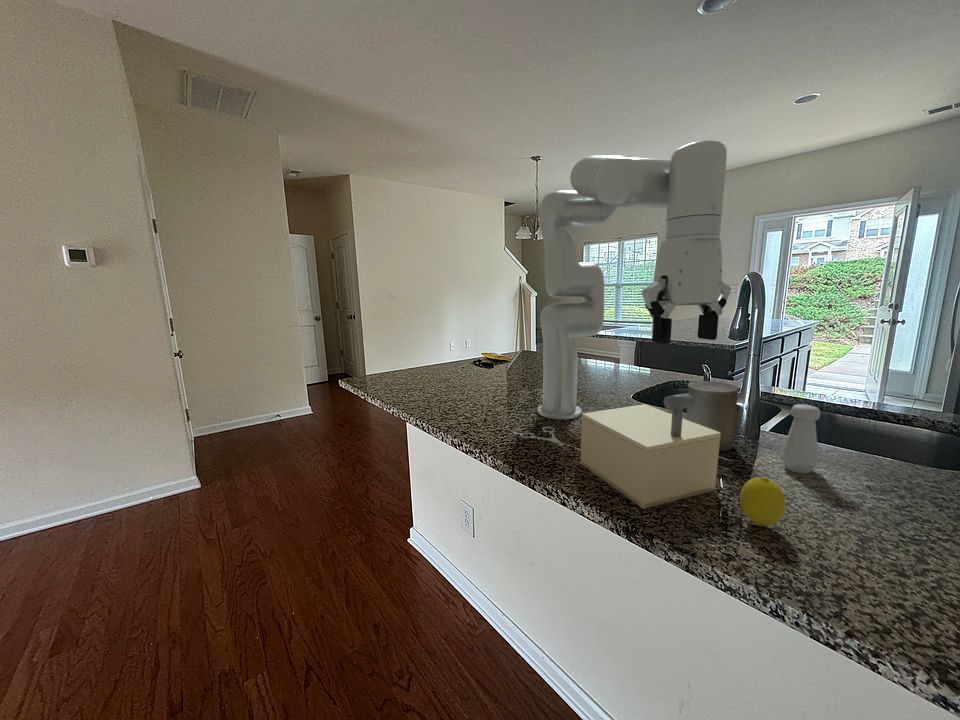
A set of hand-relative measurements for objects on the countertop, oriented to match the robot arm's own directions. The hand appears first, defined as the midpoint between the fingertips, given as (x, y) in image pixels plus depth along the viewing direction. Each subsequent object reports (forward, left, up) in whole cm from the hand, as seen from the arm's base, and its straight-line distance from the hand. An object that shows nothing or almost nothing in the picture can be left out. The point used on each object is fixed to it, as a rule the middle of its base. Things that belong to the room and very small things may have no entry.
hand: (684, 340), depth 64 cm
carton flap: (-7, 0, -17) cm, 19 cm away
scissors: (-28, -7, -28) cm, 40 cm away
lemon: (+12, +5, -28) cm, 30 cm away
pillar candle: (-14, +25, -28) cm, 40 cm away
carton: (-7, 0, -27) cm, 28 cm away
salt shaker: (+2, +30, -28) cm, 41 cm away
